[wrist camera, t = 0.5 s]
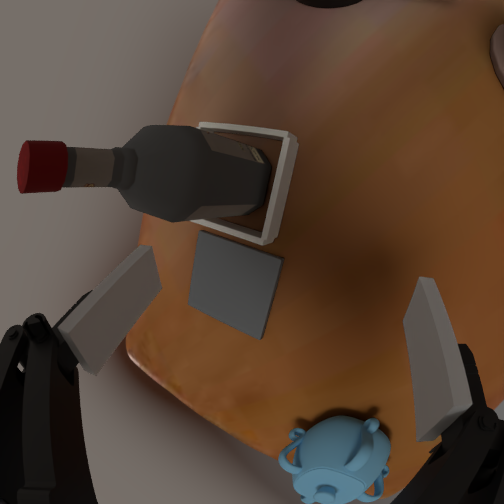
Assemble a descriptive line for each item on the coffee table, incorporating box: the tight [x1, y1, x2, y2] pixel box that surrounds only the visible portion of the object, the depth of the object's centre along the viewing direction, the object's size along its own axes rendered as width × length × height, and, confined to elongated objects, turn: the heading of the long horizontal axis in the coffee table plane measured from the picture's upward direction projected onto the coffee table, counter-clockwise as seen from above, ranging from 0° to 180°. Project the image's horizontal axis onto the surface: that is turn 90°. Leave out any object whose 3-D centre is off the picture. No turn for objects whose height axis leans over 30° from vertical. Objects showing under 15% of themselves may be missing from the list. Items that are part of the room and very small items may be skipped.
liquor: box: [17, 125, 271, 222], centre depth 26 cm, size 9×9×30 cm
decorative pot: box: [279, 416, 391, 504], centre depth 32 cm, size 16×16×14 cm
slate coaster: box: [188, 230, 284, 340], centre depth 42 cm, size 13×14×1 cm
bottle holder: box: [190, 122, 299, 246], centre depth 38 cm, size 15×15×4 cm
